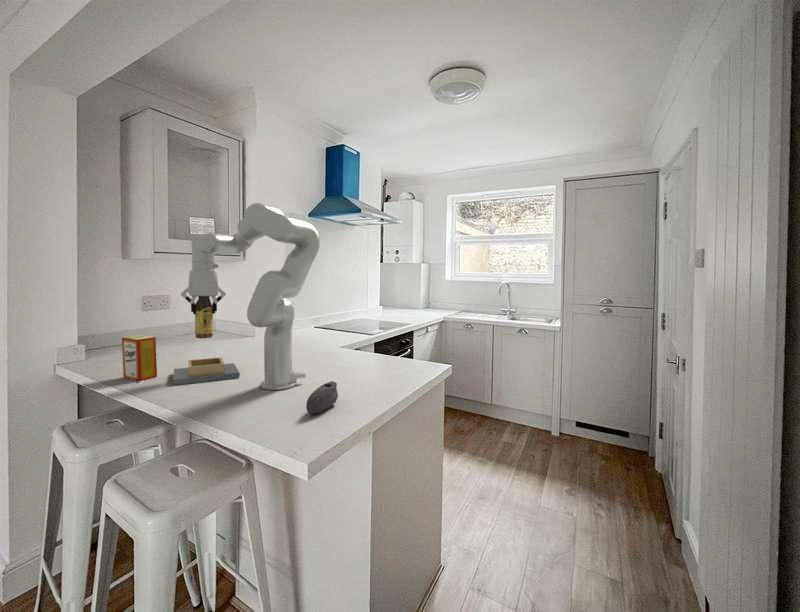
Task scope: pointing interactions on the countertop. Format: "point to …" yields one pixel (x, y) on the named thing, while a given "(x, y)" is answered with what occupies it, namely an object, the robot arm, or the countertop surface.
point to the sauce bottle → (204, 318)
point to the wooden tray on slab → (205, 371)
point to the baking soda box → (139, 357)
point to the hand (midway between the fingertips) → (204, 313)
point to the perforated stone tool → (322, 398)
